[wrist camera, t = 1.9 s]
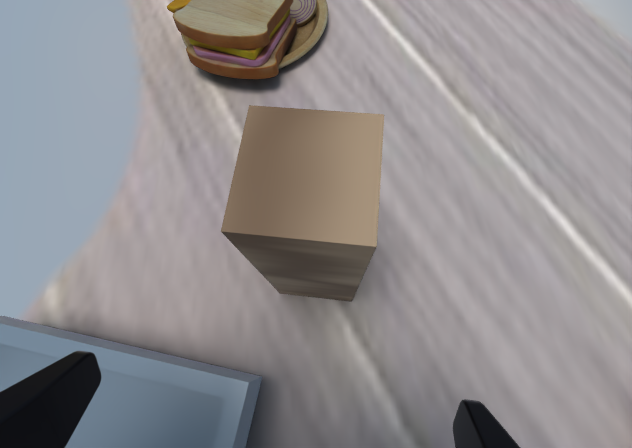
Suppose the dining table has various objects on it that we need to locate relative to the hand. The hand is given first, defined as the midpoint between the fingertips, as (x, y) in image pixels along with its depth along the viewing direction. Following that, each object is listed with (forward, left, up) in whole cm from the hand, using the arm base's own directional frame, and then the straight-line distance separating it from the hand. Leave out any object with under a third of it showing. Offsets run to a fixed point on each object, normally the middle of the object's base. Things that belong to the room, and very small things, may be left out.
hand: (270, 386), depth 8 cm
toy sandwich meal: (+10, -25, -13) cm, 30 cm away
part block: (0, -6, -12) cm, 14 cm away
